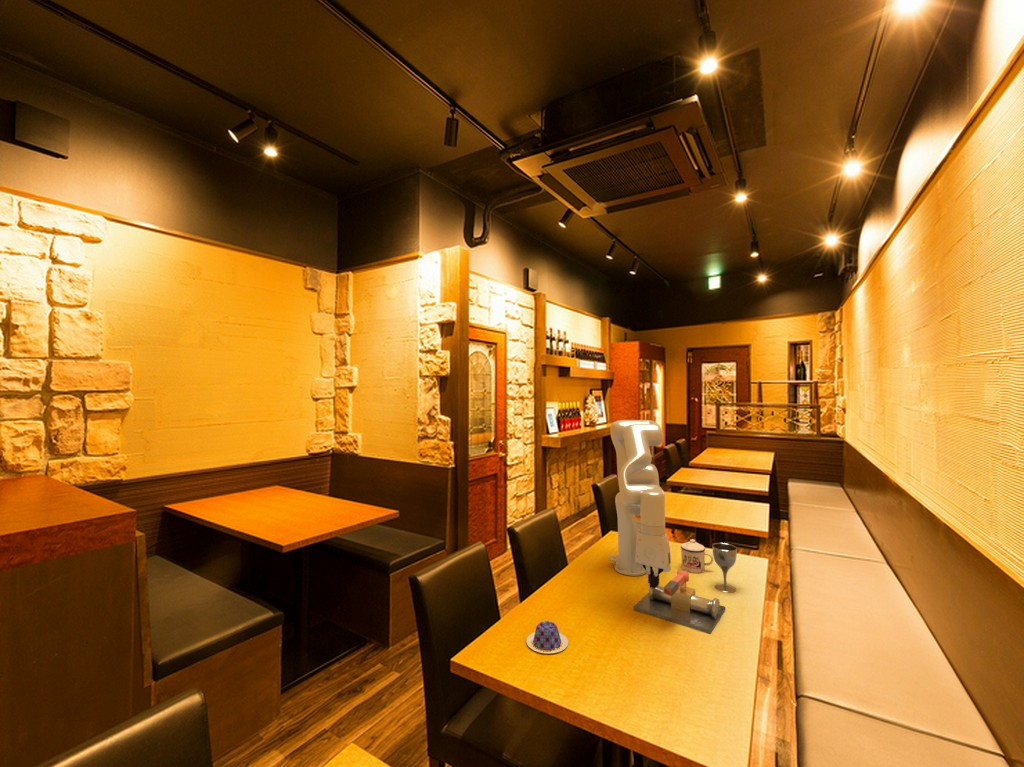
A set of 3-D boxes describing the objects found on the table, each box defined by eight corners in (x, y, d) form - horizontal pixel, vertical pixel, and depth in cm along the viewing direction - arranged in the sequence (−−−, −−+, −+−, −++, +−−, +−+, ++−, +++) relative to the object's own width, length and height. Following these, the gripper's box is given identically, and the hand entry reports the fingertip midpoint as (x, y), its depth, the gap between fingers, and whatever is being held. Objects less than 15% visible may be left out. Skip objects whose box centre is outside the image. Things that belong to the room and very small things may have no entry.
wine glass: (734, 595, 157) (734, 552, 158) (710, 589, 162) (710, 547, 162) (739, 587, 164) (738, 545, 164) (716, 581, 169) (715, 541, 169)
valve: (633, 609, 148) (632, 580, 148) (653, 590, 162) (653, 563, 162) (710, 633, 133) (709, 600, 133) (725, 609, 147) (724, 580, 147)
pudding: (519, 638, 132) (519, 620, 132) (554, 628, 138) (554, 611, 138) (539, 660, 122) (538, 641, 122) (576, 649, 127) (576, 630, 127)
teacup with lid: (679, 571, 179) (678, 541, 179) (682, 563, 187) (682, 534, 187) (712, 576, 173) (711, 546, 173) (714, 568, 181) (713, 539, 181)
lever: (679, 576, 150) (679, 569, 150) (690, 579, 148) (690, 571, 148) (662, 593, 138) (662, 585, 138) (674, 597, 136) (673, 589, 136)
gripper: (626, 527, 146) (626, 584, 145) (672, 536, 136) (673, 597, 136) (635, 522, 152) (636, 576, 151) (680, 530, 142) (681, 588, 142)
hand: (653, 586), depth 144 cm, fingers closed
